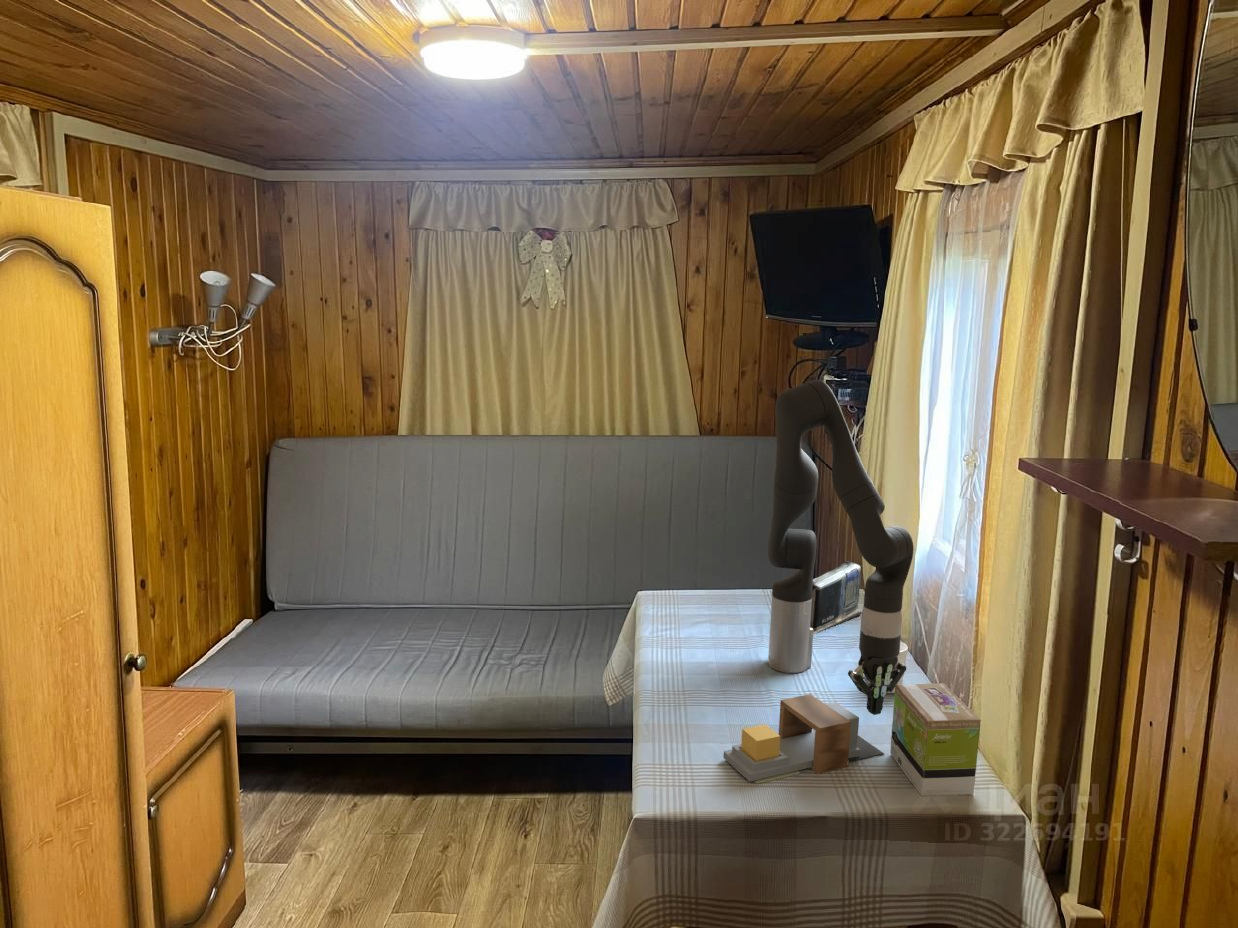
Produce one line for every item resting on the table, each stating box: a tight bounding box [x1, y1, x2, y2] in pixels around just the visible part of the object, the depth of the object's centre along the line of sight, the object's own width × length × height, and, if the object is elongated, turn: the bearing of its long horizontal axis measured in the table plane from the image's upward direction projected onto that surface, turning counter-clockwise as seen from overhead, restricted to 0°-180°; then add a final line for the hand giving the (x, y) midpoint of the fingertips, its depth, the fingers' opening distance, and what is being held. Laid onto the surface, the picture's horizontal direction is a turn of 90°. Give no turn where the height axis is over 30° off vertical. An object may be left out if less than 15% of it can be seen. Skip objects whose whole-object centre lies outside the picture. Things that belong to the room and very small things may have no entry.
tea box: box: [889, 682, 982, 797], centre depth 161 cm, size 15×10×15 cm, turn 5°
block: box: [740, 723, 780, 762], centre depth 163 cm, size 5×5×5 cm
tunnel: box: [778, 694, 851, 775], centre depth 168 cm, size 7×12×9 cm, turn 24°
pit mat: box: [848, 735, 885, 763], centre depth 172 cm, size 8×10×1 cm
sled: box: [722, 701, 860, 782], centre depth 166 cm, size 24×9×7 cm, turn 114°
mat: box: [753, 770, 800, 785], centre depth 164 cm, size 9×10×1 cm
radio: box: [810, 560, 862, 635], centre depth 239 cm, size 23×9×15 cm, turn 128°
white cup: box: [872, 641, 909, 694], centre depth 198 cm, size 8×8×10 cm
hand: (874, 712), depth 173 cm, fingers closed
